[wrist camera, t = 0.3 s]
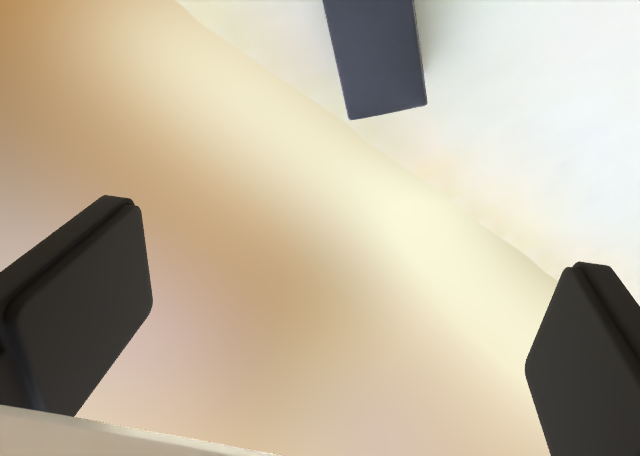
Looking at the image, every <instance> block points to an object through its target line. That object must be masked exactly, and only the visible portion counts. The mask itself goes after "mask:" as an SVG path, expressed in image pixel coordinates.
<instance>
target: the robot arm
mask: <svg viewBox="0 0 640 456" xmlns="http://www.w3.org/2000/svg"><path fill="white" fill-rule="evenodd" d="M150 283H151V282H150V275H149V267H148V260H147V252H146V245H145V237H144V229H143V222H142V214H141V210H140V208H139V207H138V206H135V205H134V203H133V201H132V200H131V199H129V198H122V197H115V196H108V195H104V196H102V197H100V198H99V199H98V200H96V201H95V202H94V203H92V204H91V205H90V206H88V207H87V208H86V209H84V210H83V211H82V212H80V213H79V214H78V215H76V216H75V217H74V218H72V219H71V220H70V221H68V222H67V223H66V224H64V225H63V226H62V227H60V228H59V229H58V230H56V231H55V232H53V233H52V234H51V235H50V236H48V237H47V238H46V239H44V240H43V241H41V242H40V243H39V244H37V245H36V246H35V247H33V248H32V249H31V250H29V251H28V252H27V253H25V254H24V255H23V256H21V257H20V258H19V259H17V260H16V261H15V262H13V263H12V264H11V265H9V266H8V267H7V268H5V269H4V270H3V271H2V272H0V456H283V455H278V454H272V453H267V452H262V451H256V450H251V449H246V448H240V447H235V446H230V445H224V444H219V443H214V442H207V441H203V440H197V439H192V438H186V437H181V436H175V435H169V434H165V433H159V432H154V431H148V430H143V429H136V428H132V427H126V426H121V425H115V424H110V423H104V422H98V421H92V420H88V419H82V418H77V417H74V416H75V415H76V414H77V412H78V411H79V409H80V408H81V407H82V405H83V404H84V403H85V401H86V400H87V399H88V397H89V396H90V394H91V393H92V392H93V390H94V389H95V388H96V386H97V385H98V384H99V382H100V381H101V379H102V378H103V377H104V375H105V374H106V373H107V371H108V370H109V368H110V367H111V366H112V364H113V363H114V362H115V360H116V359H117V358H118V356H119V355H120V353H121V352H122V350H123V349H124V348H125V347H126V345H127V344H128V343H129V341H130V340H131V338H132V337H133V336H134V334H135V333H136V332H137V330H138V329H139V327H140V326H141V325H142V323H143V322H144V321H145V319H146V318H147V317H148V315H149V313H150V311H151V308H152V303H153V298H152V290H151V284H150ZM525 375H526V379H527V382H528V385H529V388H530V392H531V394H532V398H533V401H534V404H535V407H536V410H537V414H538V417H539V420H540V423H541V426H542V429H543V432H544V435H545V438H546V442H547V445H548V448H549V451H550V454H551V456H640V306H639V305H638V304H637V302H636V301H635V300H634V298H633V297H632V295H631V294H630V293H629V291H628V290H627V289H626V287H625V286H624V284H623V283H622V282H621V280H620V279H619V278H618V276H617V275H616V274H615V272H614V271H613V269H612V268H611V267H609V266H606V265H599V264H592V263H585V262H577V263H575V264H574V265H573V267H567V268H565V269H564V270H563V272H562V274H561V277H560V279H559V282H558V284H557V287H556V289H555V292H554V294H553V296H552V299H551V301H550V304H549V306H548V309H547V311H546V313H545V316H544V318H543V321H542V323H541V325H540V328H539V330H538V333H537V335H536V337H535V340H534V342H533V345H532V347H531V349H530V352H529V354H528V357H527V359H526V364H525Z"/></svg>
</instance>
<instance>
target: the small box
mask: <svg viewBox="0 0 640 456" xmlns="http://www.w3.org/2000/svg"><path fill="white" fill-rule="evenodd" d="M323 5H324V9H325V14H326V18H327V23H328V27H329V32H330V36H331V41H332V45H333V50H334V54H335V59H336V63H337V68H338V72H339V77H340V82H341V86H342V91H343V96H344V100H345V105H346V109H347V114H348V118H349V120H356V119H362V118H367V117H372V116H377V115H383V114H387V113H392V112H397V111H402V110H406V109H411V108H416V107H421V106H425V105H427V97H426V89H425V81H424V73H423V66H422V58H421V51H420V43H419V36H418V29H417V22H416V14H415V7H414V0H323Z"/></svg>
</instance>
